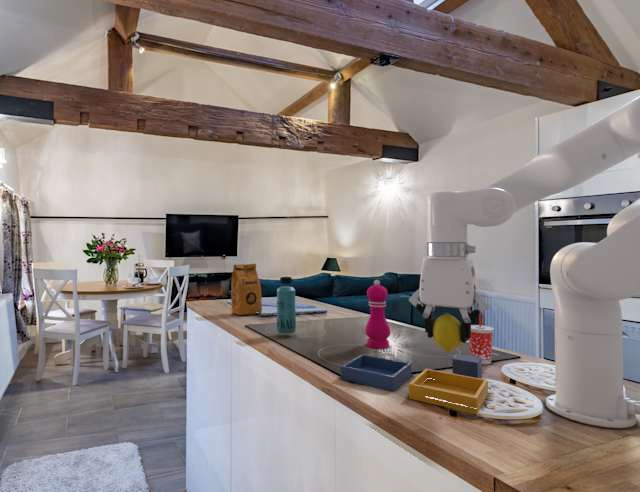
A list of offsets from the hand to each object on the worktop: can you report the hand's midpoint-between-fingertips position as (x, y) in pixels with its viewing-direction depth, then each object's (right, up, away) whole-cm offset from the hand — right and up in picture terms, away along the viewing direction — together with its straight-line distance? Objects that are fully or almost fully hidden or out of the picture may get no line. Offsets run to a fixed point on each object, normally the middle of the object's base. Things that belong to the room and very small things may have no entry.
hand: (447, 337), depth 84 cm
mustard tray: (0, -12, 0) cm, 12 cm away
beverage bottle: (-27, -13, +53) cm, 61 cm away
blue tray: (-11, -12, +12) cm, 20 cm away
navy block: (+9, -12, +9) cm, 18 cm away
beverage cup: (+20, -12, +22) cm, 32 cm away
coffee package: (-40, -13, +92) cm, 101 cm away
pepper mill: (-1, -12, +39) cm, 41 cm away
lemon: (0, -3, 0) cm, 3 cm away
